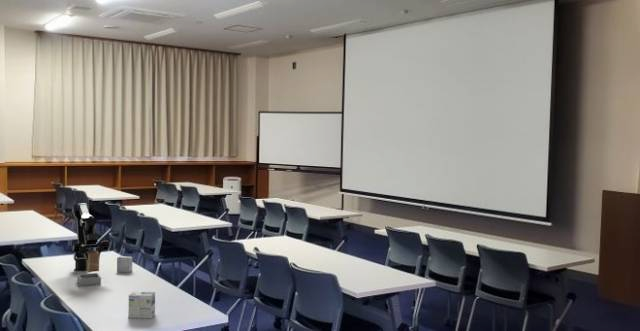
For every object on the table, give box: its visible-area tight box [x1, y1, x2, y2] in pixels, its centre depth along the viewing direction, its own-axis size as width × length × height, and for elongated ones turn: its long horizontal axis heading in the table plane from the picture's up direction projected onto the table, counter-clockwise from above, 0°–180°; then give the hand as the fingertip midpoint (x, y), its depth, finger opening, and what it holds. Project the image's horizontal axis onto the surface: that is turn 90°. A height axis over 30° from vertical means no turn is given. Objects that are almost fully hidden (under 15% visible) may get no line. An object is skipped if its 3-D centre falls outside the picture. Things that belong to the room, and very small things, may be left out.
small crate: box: [86, 250, 100, 273], centre depth 313 cm, size 6×6×10 cm
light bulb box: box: [127, 291, 156, 319], centre depth 260 cm, size 11×7×11 cm, turn 92°
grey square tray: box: [77, 272, 102, 287], centre depth 313 cm, size 11×11×4 cm
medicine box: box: [116, 255, 133, 273], centre depth 342 cm, size 8×4×9 cm, turn 84°
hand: (93, 259), depth 312 cm, fingers closed on small crate, 5 cm apart
